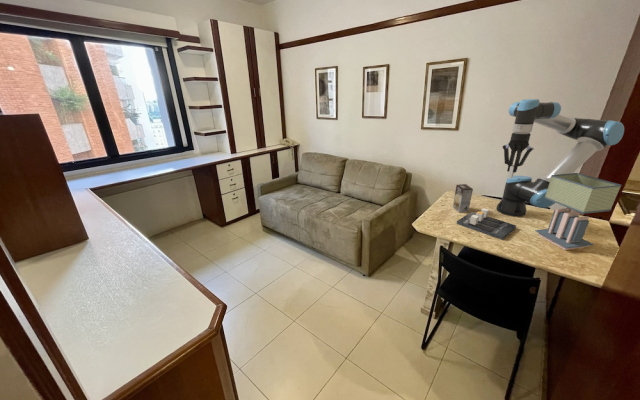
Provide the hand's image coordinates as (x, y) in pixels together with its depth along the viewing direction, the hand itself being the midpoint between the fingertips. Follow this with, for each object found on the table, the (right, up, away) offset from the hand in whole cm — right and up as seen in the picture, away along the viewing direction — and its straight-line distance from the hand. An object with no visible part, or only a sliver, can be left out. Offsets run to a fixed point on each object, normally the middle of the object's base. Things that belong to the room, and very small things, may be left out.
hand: (510, 177), depth 136 cm
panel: (-7, -27, +10) cm, 30 cm away
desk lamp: (+21, -33, -7) cm, 40 cm away
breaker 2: (-4, -22, +16) cm, 27 cm away
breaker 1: (-14, -25, +9) cm, 30 cm away
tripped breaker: (-9, -23, +12) cm, 28 cm away
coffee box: (-9, -18, +32) cm, 38 cm away
